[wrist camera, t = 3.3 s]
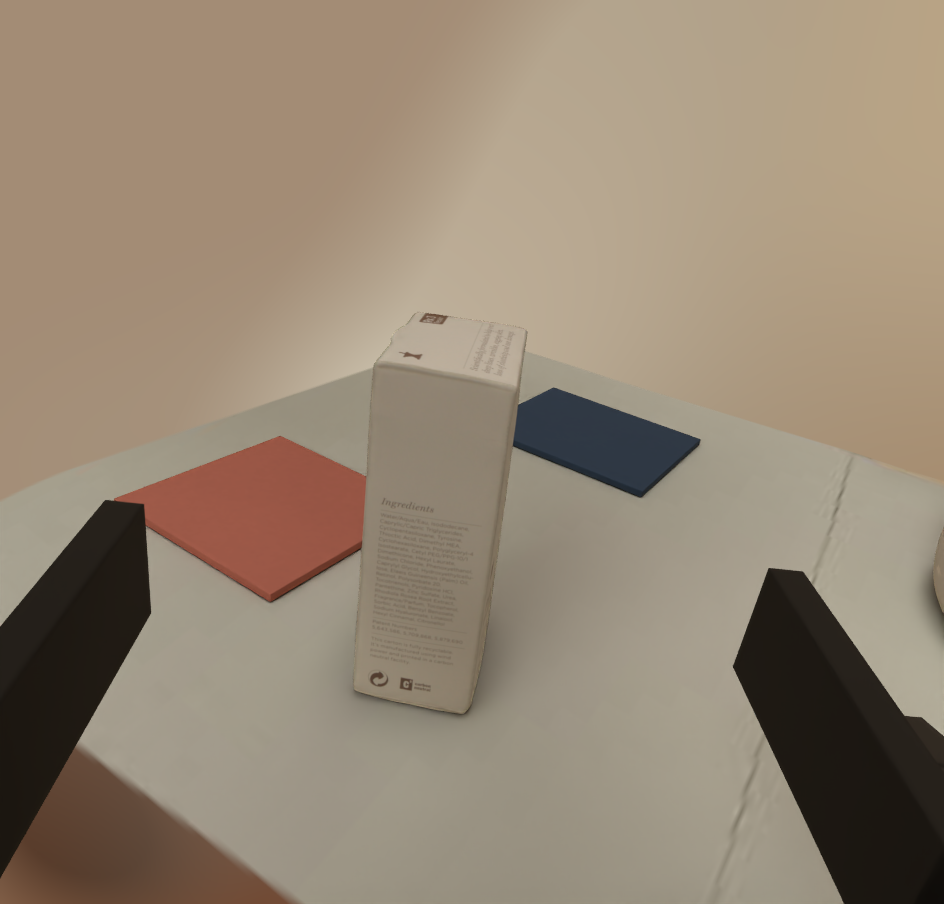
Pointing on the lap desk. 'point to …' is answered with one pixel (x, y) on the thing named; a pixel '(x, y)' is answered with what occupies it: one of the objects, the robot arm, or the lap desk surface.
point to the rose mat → (261, 514)
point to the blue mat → (599, 440)
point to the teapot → (939, 571)
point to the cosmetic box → (434, 507)
